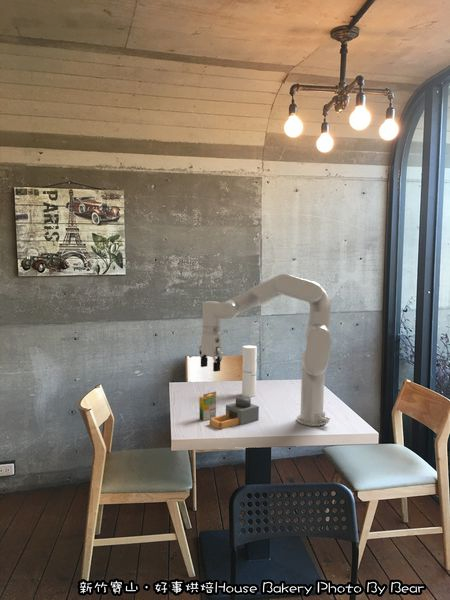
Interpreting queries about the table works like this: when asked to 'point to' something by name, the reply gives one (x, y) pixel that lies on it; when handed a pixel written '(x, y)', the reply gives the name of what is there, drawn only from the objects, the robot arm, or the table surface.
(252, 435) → the table surface
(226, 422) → the multicoloured piece
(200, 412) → the crayon box
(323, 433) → the table surface
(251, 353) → the cylindrical container
